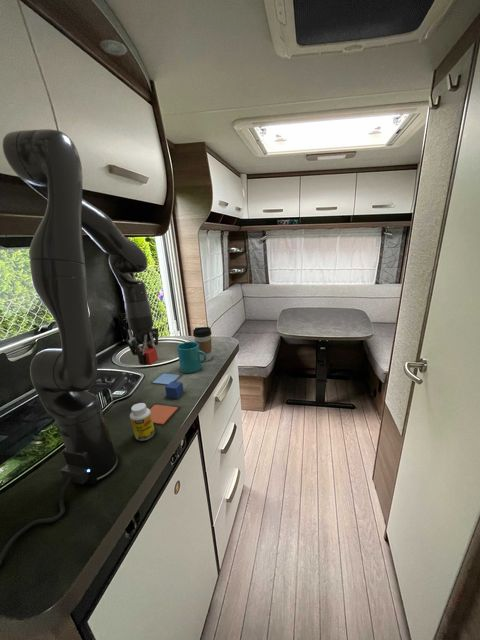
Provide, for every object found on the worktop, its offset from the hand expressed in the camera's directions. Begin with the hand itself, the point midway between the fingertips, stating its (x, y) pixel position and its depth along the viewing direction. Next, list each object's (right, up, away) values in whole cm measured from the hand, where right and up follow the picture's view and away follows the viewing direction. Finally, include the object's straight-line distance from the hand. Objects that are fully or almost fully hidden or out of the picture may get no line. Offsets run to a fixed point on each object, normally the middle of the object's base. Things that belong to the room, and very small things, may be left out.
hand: (148, 361), depth 97 cm
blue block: (+7, -13, +7) cm, 16 cm away
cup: (+10, -5, +26) cm, 28 cm away
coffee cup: (+12, 0, +36) cm, 38 cm away
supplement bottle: (+5, -22, -14) cm, 26 cm away
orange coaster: (+5, -18, -4) cm, 19 cm away
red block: (0, 0, 0) cm, 0 cm away
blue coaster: (0, -8, +18) cm, 20 cm away
